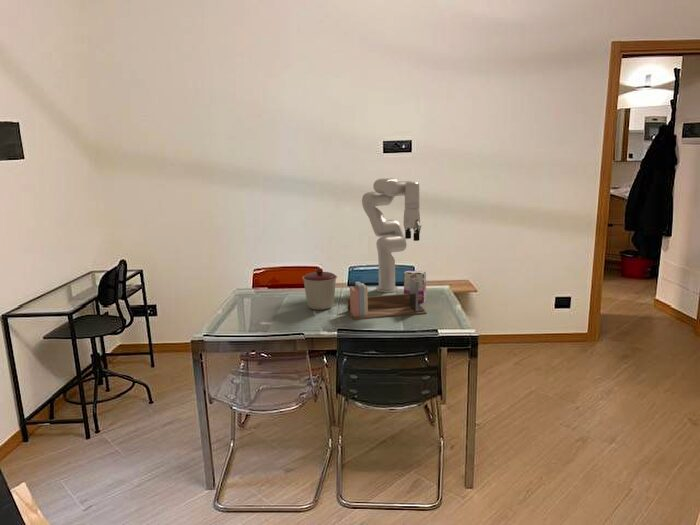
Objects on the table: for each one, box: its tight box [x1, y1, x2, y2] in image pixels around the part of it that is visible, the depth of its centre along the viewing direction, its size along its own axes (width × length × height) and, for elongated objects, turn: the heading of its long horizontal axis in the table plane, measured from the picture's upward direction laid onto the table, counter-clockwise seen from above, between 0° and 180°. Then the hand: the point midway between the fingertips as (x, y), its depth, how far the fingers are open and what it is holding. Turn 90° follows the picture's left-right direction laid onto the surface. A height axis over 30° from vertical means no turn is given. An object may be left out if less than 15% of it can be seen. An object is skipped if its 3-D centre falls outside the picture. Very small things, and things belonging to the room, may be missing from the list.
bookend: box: [410, 278, 426, 312], centre depth 268 cm, size 10×5×15 cm, turn 11°
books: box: [349, 281, 369, 317], centre depth 263 cm, size 10×7×15 cm
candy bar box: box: [403, 270, 427, 304], centre depth 285 cm, size 11×5×16 cm, turn 66°
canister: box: [302, 267, 338, 311], centre depth 277 cm, size 18×18×21 cm
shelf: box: [346, 293, 427, 321], centre depth 267 cm, size 15×37×7 cm, turn 101°
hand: (412, 239), depth 277 cm, fingers open, 8 cm apart
